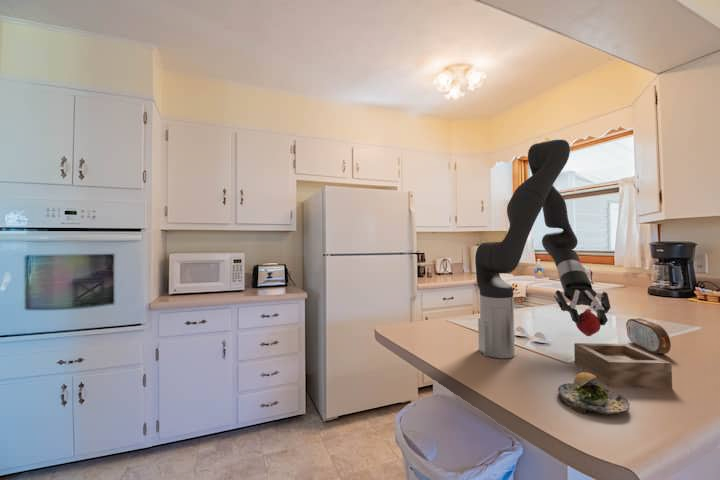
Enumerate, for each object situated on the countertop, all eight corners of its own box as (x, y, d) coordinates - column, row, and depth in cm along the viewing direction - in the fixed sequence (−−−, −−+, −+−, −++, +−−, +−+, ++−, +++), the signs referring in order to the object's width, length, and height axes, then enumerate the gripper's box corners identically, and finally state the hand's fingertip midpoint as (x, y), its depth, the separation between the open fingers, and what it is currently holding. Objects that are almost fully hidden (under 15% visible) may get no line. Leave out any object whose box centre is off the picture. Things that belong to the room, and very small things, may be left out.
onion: (594, 340, 85) (593, 311, 85) (571, 335, 90) (571, 307, 90) (604, 337, 88) (604, 309, 88) (582, 332, 93) (582, 306, 93)
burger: (584, 422, 56) (583, 381, 57) (545, 391, 68) (544, 357, 68) (648, 420, 56) (647, 380, 57) (598, 390, 68) (598, 356, 68)
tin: (672, 358, 85) (671, 328, 85) (659, 357, 86) (658, 327, 86) (635, 341, 100) (634, 315, 100) (624, 340, 101) (623, 315, 101)
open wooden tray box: (610, 388, 69) (609, 362, 69) (574, 365, 82) (574, 343, 82) (672, 390, 68) (671, 363, 68) (626, 366, 81) (625, 343, 81)
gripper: (550, 269, 98) (565, 314, 86) (603, 270, 94) (626, 317, 83) (545, 283, 103) (559, 328, 92) (595, 284, 100) (615, 331, 88)
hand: (590, 322), depth 87 cm, fingers closed on onion, 5 cm apart
